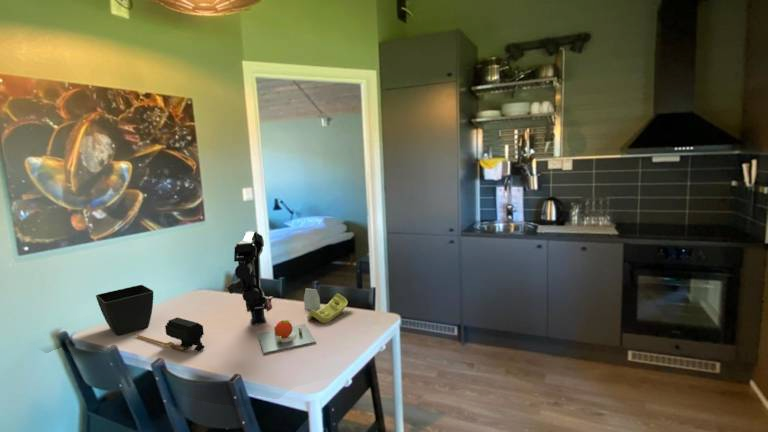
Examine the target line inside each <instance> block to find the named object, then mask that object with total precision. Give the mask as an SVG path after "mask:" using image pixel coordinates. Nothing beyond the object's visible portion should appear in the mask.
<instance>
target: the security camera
mask: <svg viewBox="0 0 768 432" xmlns="http://www.w3.org/2000/svg"><path fill="white" fill-rule="evenodd" d="M164 329H165V335H166V336H169V337H170V338H172V339H175V340H180V342H181V343H180V347H184V348H186V349H189V348H190V347H193V346H195V348H194V347H193V348H194V351H196V352H200V351H203V350H204V349H205V345H203V342H202V341H201V340H202V338H203V336H204V334H205V333H204V325H203V324H201V323H199V322H196V321H192V320H190V319H189V320H188V319H185V318H181V317H175V318H172V319H169V320H168V321H167V322H166V324H165V325H164Z"/></svg>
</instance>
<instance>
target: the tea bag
mask: <svg viewBox="0 0 768 432" xmlns="http://www.w3.org/2000/svg"><path fill="white" fill-rule="evenodd" d="M304 291H305V292H304V295H303V303H304V310H307V311H311V310H315V311H318V310H319V309H321V298H320V294H319V292H318V290H317V289H314V288H305V290H304Z"/></svg>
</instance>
